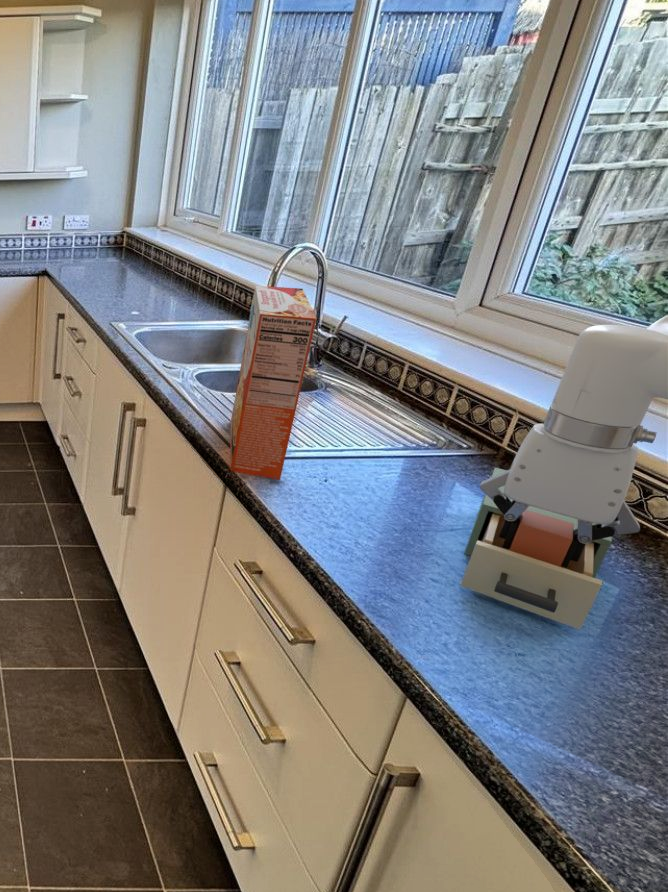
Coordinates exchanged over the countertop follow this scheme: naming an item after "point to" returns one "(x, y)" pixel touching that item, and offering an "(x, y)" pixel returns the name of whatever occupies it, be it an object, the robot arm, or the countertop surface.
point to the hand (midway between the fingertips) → (534, 551)
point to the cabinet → (489, 507)
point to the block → (542, 538)
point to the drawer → (532, 579)
